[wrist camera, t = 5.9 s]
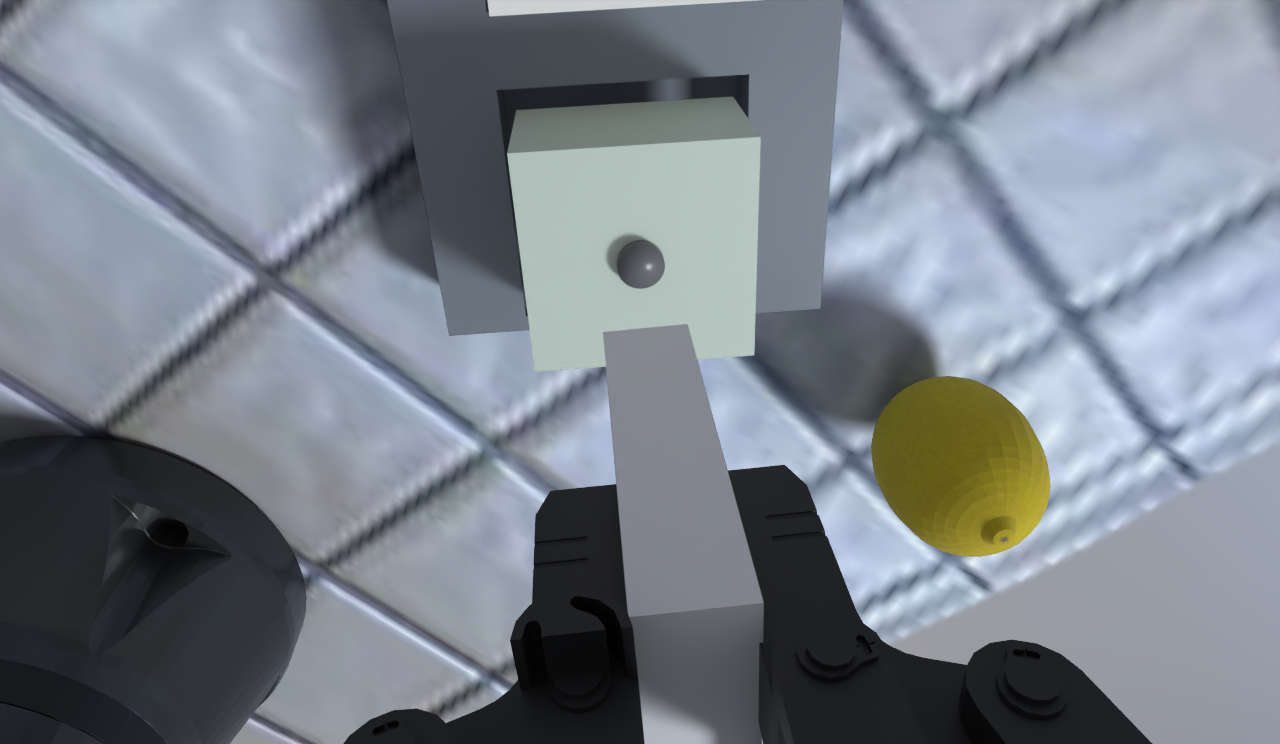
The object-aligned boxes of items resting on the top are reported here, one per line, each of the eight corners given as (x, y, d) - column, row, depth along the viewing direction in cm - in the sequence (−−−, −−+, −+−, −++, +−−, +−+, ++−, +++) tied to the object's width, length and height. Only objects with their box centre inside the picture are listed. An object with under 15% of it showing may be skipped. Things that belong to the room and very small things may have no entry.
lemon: (819, 425, 34) (882, 569, 27) (906, 316, 31) (1000, 443, 25) (924, 475, 35) (1010, 622, 29) (1015, 374, 33) (1131, 508, 26)
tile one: (539, 305, 26) (534, 377, 23) (516, 110, 23) (506, 157, 20) (730, 291, 27) (756, 360, 23) (733, 96, 23) (763, 140, 20)
